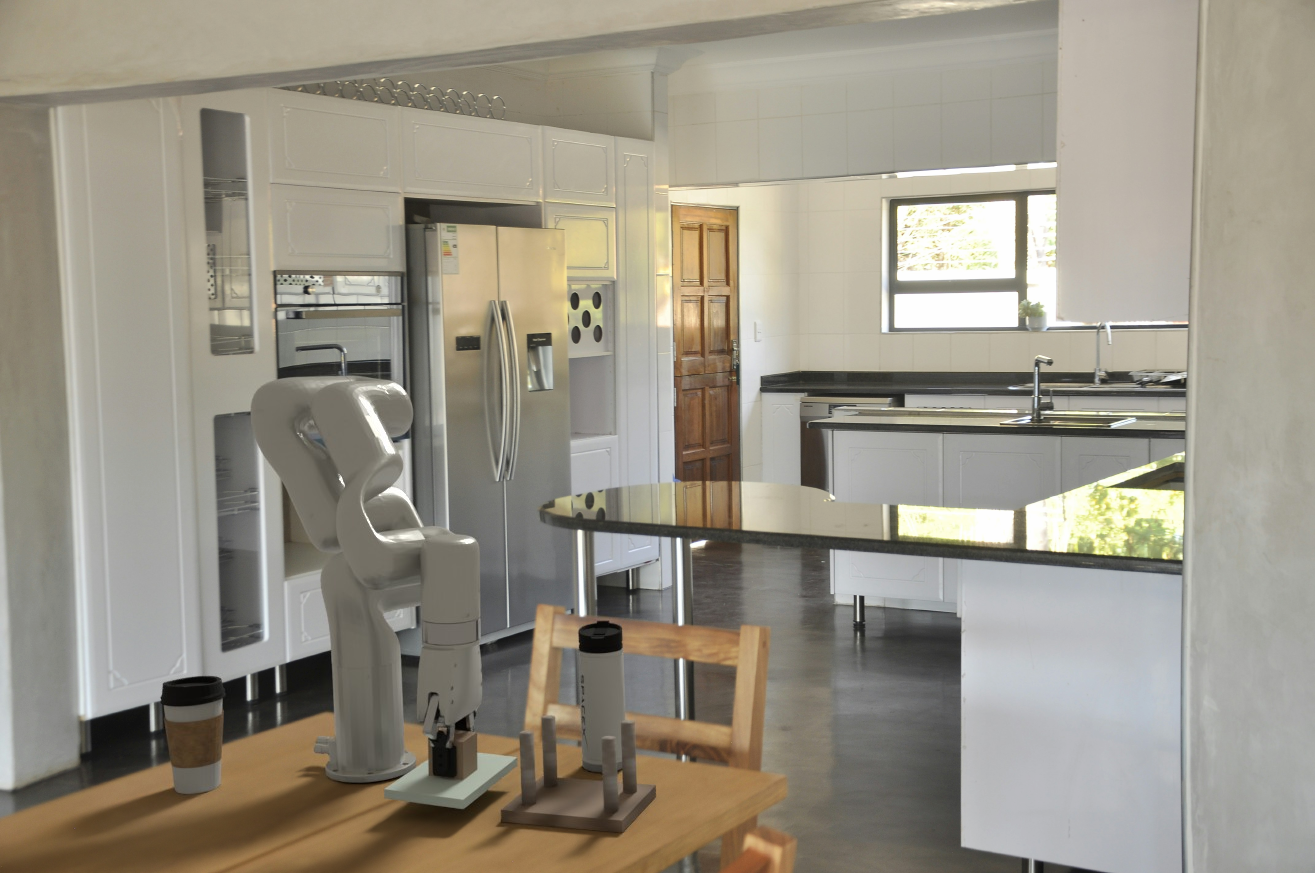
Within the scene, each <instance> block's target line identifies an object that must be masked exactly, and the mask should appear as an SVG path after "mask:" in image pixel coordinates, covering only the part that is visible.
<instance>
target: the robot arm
mask: <svg viewBox="0 0 1315 873" xmlns="http://www.w3.org/2000/svg"><path fill="white" fill-rule="evenodd" d="M413 420H414V408H413V403H412V400H411V398H410V396H409V394H408V393H407V391H406V390H405V389H404V388H403V387H402V386H401V385H400V384H399V383H397V382H395V381H393V380H389V379H381V378H374V377H373V378H372V377H367V376H361V375H331V376H330V375H329V376H328V375H327V376H326V375H324V376H322V375H321V376H320V375H319V376H293V377H290V376H289V377H284V378H278V379H274V380H271V381H269V382H266V383H265V384H263V385H260V387H258V388H257V390H256V391H255V393H254V394H253V397H252V399H251V404H250V421H251V422H250V423H251V428H252V431H253V435H254V439H255V441H256V443H257V447H258V448H259V450H260V452H261V454H262V455H263V457H264V458H265V460H266V461H267V462H268V464H269V465H270V466H271V468H272V469H273V470H274V472H275V473H276V474H277V476H278V477H279V479H280V480H281V482H282V484H283V485H284V487H285V490H286V491H287V493H288V496H289V498H290V500H291V503H292V505H293V507H294V509H295V511H296V514H297V516H298V518H299V519H300V522H301V525H302V526H303V529H304V531H305V533H306V535H307V538H308V539H309V541H310V543H311V544H312V545H313V546H314V547H315V549H317V550H318V551H319V552H322V553H325V554H334V555H333V556H331V557H330V558H329V559H328V560H326V562H325V563H324V565H323V567H322V569H321V571H320V588H321V589H320V590H321V594H322V599H323V603H324V607H325V612H326V616H327V622H328V623H327V624H328V631H329V639H330V640H329V641H330V652H331V653H330V655H331V670H332V671H331V672H332V690H333V691H332V693H333V715H334V716H333V718H334V736H335V737H332V736H327V735H326V736H325V735H318V736H317V738H316V739H315V744H314V746H313V752H314V754H321V755H322V754H323V755H324V754H325V755H326V754H327V755H328V757H329V760H328V761H327V762H326V764H325V767H324V768H325V769H324V770H325V775H326V777H328V778H329V779H331V780H333V781H337V782H342V783H352V784H353V783H354V784H356V783H357V784H359V783H360V784H361V783H362V784H363V783H373V782H374V783H375V782H380V781H381V782H382V781H386V780H387V781H388V780H391V779H395V778H398V777H402V776H404V775H406V774H407V773H409V772H410V771H412V770H413V769H414V768H416V767H417V757H416V754H414V753H413V752H412V751H410V750H407V749H406V750H405V747H406V746H405V729H404V728H405V725H404V703H403V702H404V698H403V678H402V657H401V656H402V655H401V654H402V653H401V645H400V641H399V638H398V635H397V633H396V631H394V629H393V628H392V627H391V626H390V624H389V623H388V621H387V620H386V618H385V616H384V614H385V613H390V612H392V611H397V610H403V609H409V608H414V607H419V606H420V609H421V610H420V611H421V613H420V616H421V619H420V620H421V645H422V647H421V648H420V656H419V663H418V669H417V670H418V671H417V672H418V674H417V685H416V686H417V690H416V691H417V692H416V719H417V721H418V723H420V724H423V726H422V732H421V733H422V734H423V735H424V736H425V737H427V739H428V738H429V740H430V745H431V746H432V767H433V775H435V776H442V777H450V778H454V777H455V776H456V775H457V749H456V746H453V743H454V730H461V731H470V732H475V729H476V725H475V719H476V717H477V711H478V709H479V707H480V706H481V704H482V701H483V670H482V657H481V649H480V643H481V642H482V637H481V636H482V634H481V632H482V631H481V630H482V629H481V628H482V627H481V626H482V625H481V624H482V623H481V620H482V619H481V564H480V563H481V560H480V559H481V558H480V557H481V554H480V552H481V551H480V544H479V542H478V541H477V539H476V538H474V537H473V536H470V535H467V534H456V533H454V532H452V531H451V530H449V529H448V528H445V527H443V526H440V525H439V526H438V525H429V526H428V525H427V526H425V524H424V523H423V521H422V519H421V518H420V514H419V513H418V512H417V509H416V507H415V506H414V504H413V501H412V500H411V498H410V497H409V495H408V494H406V493H405V492H404V490H402V489H401V488H400V487H398V486H396V485H394V484H395V483H396V482H397V481H398V479H400V477H401V475H402V473H403V470H404V460H403V458H402V455H401V454H400V452H399V450H398V449H397V447H396V445H395V443H394V442H393V440H392V438H398V437H401V436H403V435H405V434H406V433H407V432H408V431H409V429H410V428H411V426H412V424H413ZM310 434H319V436H320V438H321V440H322V442H323V444H321V443H320V442H318V441H316V440H315V439H313V438H311V437H310V436H309V435H310ZM439 718H444V720H439ZM440 728H443V729H447V732H446V734H445V733H444V732H443V731H441V729H440Z"/></svg>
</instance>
